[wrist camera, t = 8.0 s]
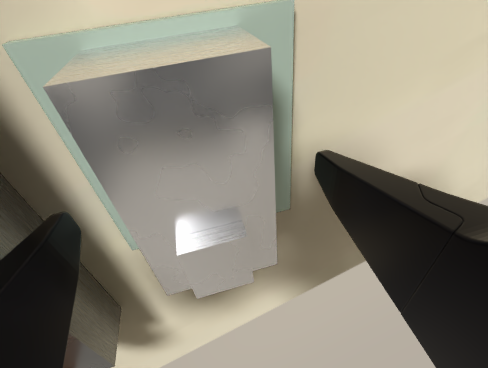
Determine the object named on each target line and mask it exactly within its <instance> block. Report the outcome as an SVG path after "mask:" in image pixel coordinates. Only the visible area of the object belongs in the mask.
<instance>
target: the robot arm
mask: <svg viewBox="0 0 488 368" xmlns="http://www.w3.org/2000/svg"><path fill="white" fill-rule="evenodd" d="M314 171H315V175H316V177H317V179H318V181H319V183H320V185H321V187H322V189H323V192H324V194H325V196H326V198H327V200H328V202H329V204H330V205H331V207H332V209H333V210H334V212H335V214H336V215H337V217H338V218H339V220H340V221H341V223H342V224H343V226H344V227H345V229H346V230H347V232H348V233H349V235H350V236H351V238H352V240H353V241H354V243H355V244H356V246H357V247H358V249H359V250H360V252H361V253H362V255H363V256H364V258H365V259H366V261H367V262H368V264H369V266H370V267H371V269H372V270H373V272H374V273H375V275H376V276H377V278H378V279H379V281H380V282H381V284H382V285H383V287H384V289H385V290H386V292H387V293H388V295H389V296H390V298H391V299H392V301H393V302H394V303H395V305H396V307H397V308H398V310H399V311H400V312H401V315H402V316H403V318H404V319H405V321H406V322H407V324H408V325H409V327H410V328H411V330H412V332H413V333H414V335H415V336H416V338H417V339H418V341H419V342H420V344H421V345H422V347H423V348H424V350H425V351H426V353H427V355H428V356H429V358H430V359H431V361H432V362H433V364H434V365H435V367H436V368H488V206H486V205H483V204H479V203H476V202H473V201H469V200H466V199H463V198H460V197H457V196H454V195H450V194H447V193H444V192H442V191H439V190H436V189H433V188H430V187H427V186H425V185H422V184H418V183H416V182H414V181H411V180H408V179H405V178H403V177H400V176H397V175H395V174H392V173H389V172H386V171H384V170H381V169H378V168H375V167H373V166H370V165H367V164H365V163H362V162H359V161H356V160H354V159H351V158H348V157H345V156H343V155H340V154H337V153H334V152H332V151H329V150H324V151H320V152H318V153H317V154H316V158H315V169H314ZM80 248H81V230H80V228H79V226H78V225H77V224H76V222H75V221H74V220H73V218H72V217H71V216H70V215H69V214H68V213H67V212H61V213H57V214H53V215H51V216H50V217H49V218H48V219H46V220H45V221H44V222H43V223H42V224H41V225H40V226H38V227H37V228H36V229H35V230H34V231H33V232H32V233H31V234H29V235H28V236H27V237H26V238H25V239H24V240H23V241H21V242H20V243H19V244H18V245H17V246H16V247H15V248H13V249H12V250H11V251H10V252H9V253H8V254H7V255H6V256H4V257H3V258H2V259H1V260H0V368H63V365H64V359H65V353H66V348H67V342H68V336H69V330H70V324H71V319H72V313H73V307H74V301H75V295H76V290H77V284H78V278H79V269H80Z"/></svg>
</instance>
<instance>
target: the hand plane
mask: <svg viewBox="0 0 488 368" xmlns="http://www.w3.org/2000/svg"><path fill="white" fill-rule="evenodd" d="M43 222H44V221H43V220H42V219H41V218H40V217H39V216H38V215H37V214H36V213H35V211H34V210H33V209H32V208H31V207H30V206H29V205H28V204H27V203H26V201H25V200H24V199H23V198H22V197H21V196H20V195H19V194H18V192H17V191H16V190H15V189H14V188H13V187H12V186H11V185H10V184H9V182H8V181H7V180H6V179H5V178H4V177H3V176H2V175H1V174H0V260H1V259H2V258H3V257H4V256H6V255H7V254H8V253H9V252H10V251H11V250H12V249H13V248H15V247H16V246H17V245H18V244H19V243H20V242H21V241H23V240H24V239H25V238H26V237H27V236H28V235H29V234H31V233H32V232H33V231H34V230H35V229H36V228H37V227H38V226H40V225H41V224H42V223H43ZM120 315H121V307H120V306H119V305H118V304H117V303H116V302H115V301H114V300H113V298H112V297H111V296H110V295H109V294H108V293H107V292H106V291H105V290H104V288H103V287H102V286H101V285H100V284H99V283H98V282H97V281H96V280H95V278H94V277H93V276H92V275H91V274H90V273H89V272H88V271H87V269H86V268H85V267H84V266H83V265H82V264H81V263H80V269H79V278H78V284H77V290H76V295H75V301H74V307H73V313H72V319H71V324H70V330H69V336H68V342H67V348H66V353H65V359H64V365H63V368H111V367H114V366H115V359H116V350H117V341H118V333H119V324H120Z"/></svg>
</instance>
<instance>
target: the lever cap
mask: <svg viewBox="0 0 488 368" xmlns="http://www.w3.org/2000/svg"><path fill="white" fill-rule="evenodd" d="M43 88H44V90H45V92H46V93H47V95H48V97H49V98H50V100H51V102H52V103H53V105H54V107H55V108H56V110H57V112H58V113H59V115H60V117H61V118H62V120H63V122H64V123H65V125H66V127H67V128H68V130H69V132H70V133H71V135H72V137H73V138H74V140H75V142H76V143H77V145H78V147H79V148H80V150H81V152H82V153H83V155H84V157H85V159H86V160H87V162H88V164H89V165H90V167H91V169H92V170H93V172H94V174H95V175H96V177H97V179H98V180H99V182H100V184H101V185H102V187H103V189H104V190H105V192H106V194H107V195H108V197H109V199H110V200H111V202H112V204H113V205H114V207H115V209H116V210H117V212H118V214H119V215H120V217H121V219H122V220H123V222H124V224H125V225H126V227H127V229H128V230H129V232H130V234H131V235H132V237H133V239H134V241H135V242H136V244H137V246H138V247H139V249H140V251H141V252H142V254H143V256H144V257H145V259H146V261H147V262H148V264H149V266H150V267H151V269H152V271H153V272H154V274H155V276H156V277H157V279H158V281H159V282H160V284H161V286H162V287H163V289H164V291H165V292H166V294H167V296H168V295H172V294H175V293H178V292H182V291H185V290H189V289H192V290H193V292H194V294H195V296H196V298H197V299H198V298H202V297H205V296H208V295H212V294H215V293H219V292H222V291H225V290H229V289H232V288H236V287H239V286H242V285H246V284H249V283H253V282H254V278H253V271H255V270H258V269H262V268H265V267H269V266H272V265H276V264H277V235H276V200H275V165H274V130H273V95H272V60H271V47H270V46H269V45H267V44H266V43H264V42H262V41H261V40H259V39H258V38H256V37H255V36H253V35H251V34H250V33H248V32H247V31H245V30H244V29H242V28H241V27H239V26H237V25H235V26H229V27H223V28H217V29H210V30H204V31H198V32H192V33H185V34H179V35H173V36H167V37H161V38H154V39H148V40H142V41H136V42H129V43H123V44H117V45H111V46H104V47H98V48H92V49H86V50H81V51H80V52H79V53H78V54H77V55H76V56H74V57H73V58H72V59H71V60H70V61H69V62H68V63H67V64H66V65H65V66H64V67H63V68H62V69H61V70H60V71H59V72H58V73H57V74H56V75H55V76H54V77H53V78H52V79H51V80H49V81H48V82H47V83H46V84H45V85H44V86H43Z"/></svg>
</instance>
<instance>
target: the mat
mask: <svg viewBox="0 0 488 368" xmlns="http://www.w3.org/2000/svg"><path fill="white" fill-rule="evenodd" d="M235 25H237V26H239V27H241V28H242V29H244V30H245V31H247V32H248V33H250V34H251V35H253V36H255V37H256V38H258V39H259V40H261V41H262V42H264V43H266V44H267V45H269V46H270V47H271V60H272V95H273V130H274V165H275V200H276V213H277V212H281V211H284V210H288V209H290V186H291V137H292V88H293V39H294V0H277V1H271V2H264V3H257V4H251V5H244V6H238V7H231V8H225V9H218V10H212V11H205V12H199V13H192V14H185V15H179V16H172V17H166V18H159V19H153V20H146V21H140V22H133V23H126V24H120V25H113V26H107V27H100V28H94V29H87V30H81V31H74V32H67V33H61V34H54V35H48V36H41V37H35V38H28V39H22V40H15V41H9V42H7V43H5V44H2V46H3V47H4V49H5V50H6V52H7V54H8V55H9V57H10V58H11V60H12V61H13V63H14V65H15V66H16V68H17V69H18V71H19V72H20V74H21V76H22V77H23V79H24V80H25V82H26V84H27V85H28V87H29V88H30V90H31V91H32V93H33V95H34V96H35V98H36V99H37V101H38V102H39V104H40V106H41V107H42V109H43V110H44V112H45V113H46V115H47V117H48V118H49V120H50V121H51V123H52V125H53V126H54V128H55V129H56V131H57V132H58V134H59V136H60V137H61V139H62V140H63V142H64V143H65V145H66V147H67V148H68V150H69V151H70V153H71V155H72V156H73V158H74V159H75V161H76V162H77V164H78V166H79V167H80V169H81V170H82V172H83V173H84V175H85V177H86V178H87V180H88V181H89V183H90V184H91V186H92V188H93V189H94V191H95V192H96V194H97V196H98V197H99V199H100V200H101V202H102V203H103V205H104V207H105V208H106V210H107V211H108V213H109V214H110V216H111V218H112V219H113V221H114V222H115V224H116V226H117V227H118V229H119V230H120V232H121V233H122V235H123V237H124V238H125V240H126V241H127V243H128V244H129V246H130V248H131V249H132V250H136V249H139V247H138V246H137V244H136V242H135V241H134V239H133V237H132V235H131V234H130V232H129V230H128V229H127V227H126V225H125V224H124V222H123V220H122V219H121V217H120V215H119V214H118V212H117V210H116V209H115V207H114V205H113V204H112V202H111V200H110V199H109V197H108V195H107V194H106V192H105V190H104V189H103V187H102V185H101V184H100V182H99V180H98V179H97V177H96V175H95V174H94V172H93V170H92V169H91V167H90V165H89V164H88V162H87V160H86V159H85V157H84V155H83V153H82V152H81V150H80V148H79V147H78V145H77V143H76V142H75V140H74V138H73V137H72V135H71V133H70V132H69V130H68V128H67V127H66V125H65V123H64V122H63V120H62V118H61V117H60V115H59V113H58V112H57V110H56V108H55V107H54V105H53V103H52V102H51V100H50V98H49V97H48V95H47V93H46V92H45V90H44V88H43V86H44V85H45V84H46V83H47V82H48V81H49V80H51V79H52V78H53V77H54V76H55V75H56V74H57V73H58V72H59V71H60V70H61V69H62V68H63V67H64V66H65V65H66V64H67V63H68V62H69V61H70V60H71V59H72V58H73V57H74V56H76V55H77V54H78V53H79V52H80V51H81V50H86V49H92V48H98V47H104V46H111V45H117V44H123V43H129V42H136V41H142V40H148V39H154V38H161V37H167V36H173V35H179V34H185V33H192V32H198V31H204V30H210V29H217V28H223V27H229V26H235Z"/></svg>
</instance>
